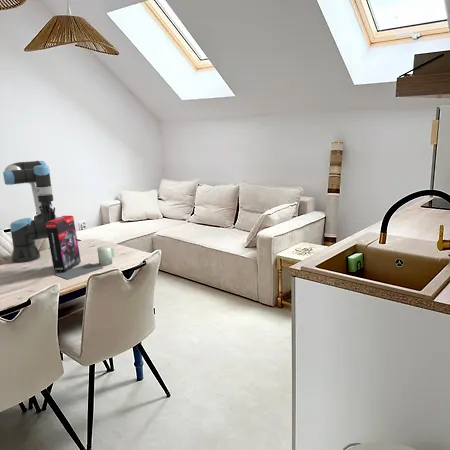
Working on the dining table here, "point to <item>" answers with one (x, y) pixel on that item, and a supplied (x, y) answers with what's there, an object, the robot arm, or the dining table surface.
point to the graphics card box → (63, 243)
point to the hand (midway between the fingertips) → (51, 236)
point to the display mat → (78, 271)
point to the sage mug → (105, 255)
